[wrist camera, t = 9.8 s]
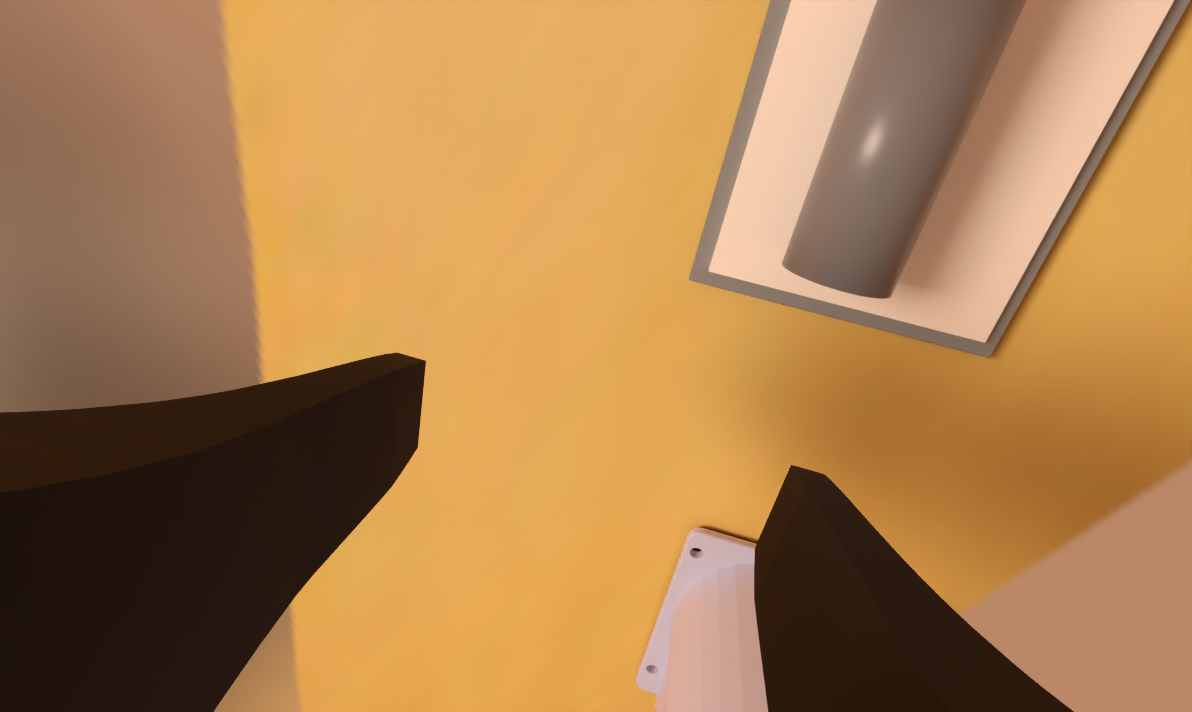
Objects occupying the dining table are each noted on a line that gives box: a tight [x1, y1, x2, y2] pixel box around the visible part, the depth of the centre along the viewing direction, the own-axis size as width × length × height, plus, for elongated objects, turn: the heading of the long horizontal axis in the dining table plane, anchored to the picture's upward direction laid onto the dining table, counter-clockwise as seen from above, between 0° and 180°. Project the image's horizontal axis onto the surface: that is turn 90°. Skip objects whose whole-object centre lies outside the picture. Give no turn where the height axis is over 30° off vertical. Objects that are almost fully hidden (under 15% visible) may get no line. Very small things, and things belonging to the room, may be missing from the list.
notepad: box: [689, 0, 1190, 358], centre depth 15 cm, size 13×10×1 cm
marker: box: [782, 0, 1027, 299], centre depth 13 cm, size 10×3×3 cm
